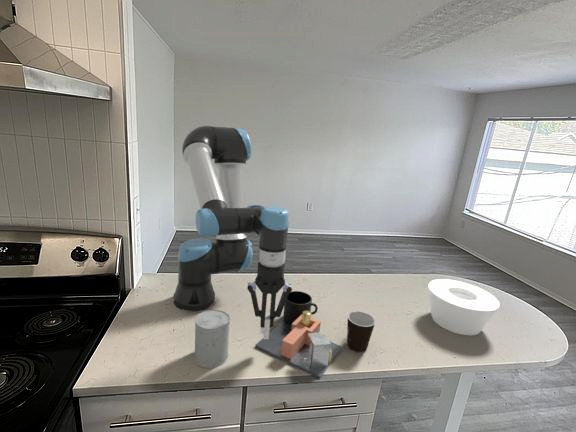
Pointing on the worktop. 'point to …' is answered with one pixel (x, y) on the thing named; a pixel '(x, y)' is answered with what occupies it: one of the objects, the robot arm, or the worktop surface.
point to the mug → (297, 306)
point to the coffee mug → (359, 330)
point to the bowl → (461, 306)
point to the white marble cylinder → (211, 338)
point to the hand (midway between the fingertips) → (266, 336)
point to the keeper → (320, 349)
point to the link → (298, 337)
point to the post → (306, 318)
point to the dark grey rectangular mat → (301, 357)
